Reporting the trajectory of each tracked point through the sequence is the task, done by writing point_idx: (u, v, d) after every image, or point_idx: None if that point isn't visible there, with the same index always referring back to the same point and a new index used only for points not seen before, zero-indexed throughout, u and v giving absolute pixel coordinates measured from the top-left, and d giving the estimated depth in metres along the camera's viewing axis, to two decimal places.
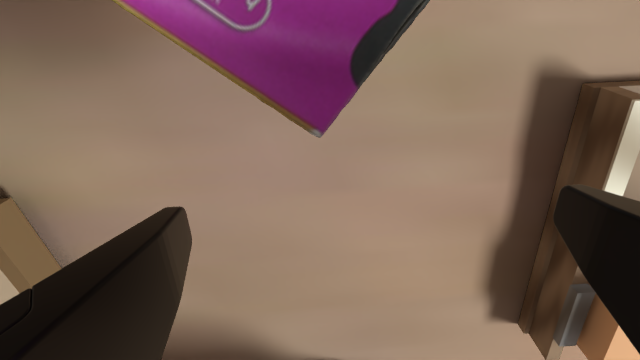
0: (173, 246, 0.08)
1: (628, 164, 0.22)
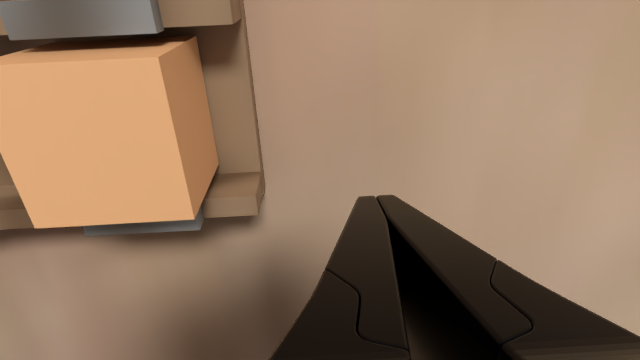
0: None
1: None
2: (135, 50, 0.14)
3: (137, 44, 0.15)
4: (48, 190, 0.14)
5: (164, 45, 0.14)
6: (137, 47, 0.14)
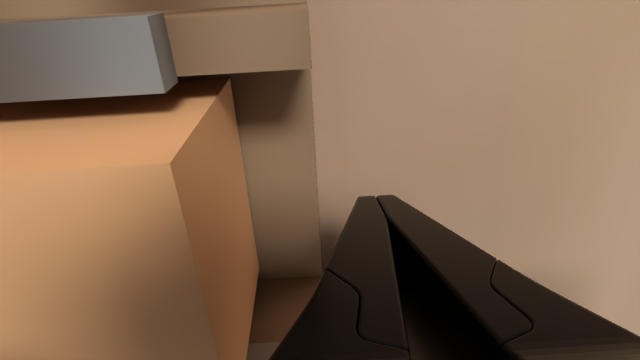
0: None
1: None
2: (121, 128, 0.07)
3: (127, 104, 0.08)
4: None
5: (179, 109, 0.07)
6: (126, 115, 0.07)
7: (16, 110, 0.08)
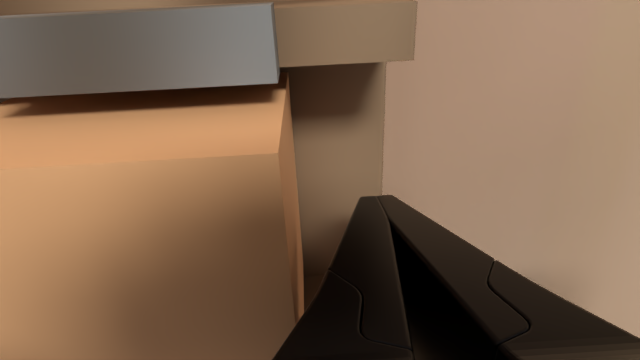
0: None
1: None
2: (206, 119, 0.07)
3: (198, 97, 0.08)
4: None
5: (254, 102, 0.07)
6: (204, 108, 0.07)
7: (85, 102, 0.08)
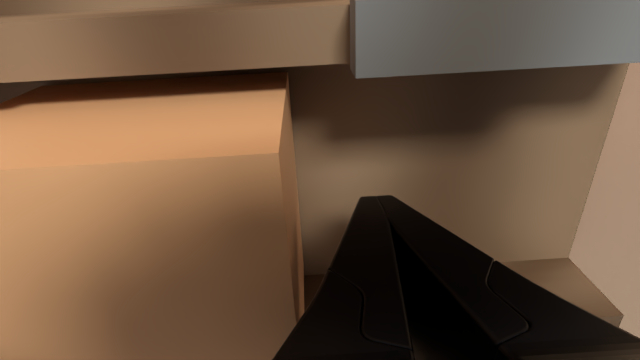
0: None
1: None
2: (206, 119, 0.07)
3: (198, 97, 0.08)
4: None
5: (254, 102, 0.07)
6: (204, 108, 0.07)
7: (85, 102, 0.08)
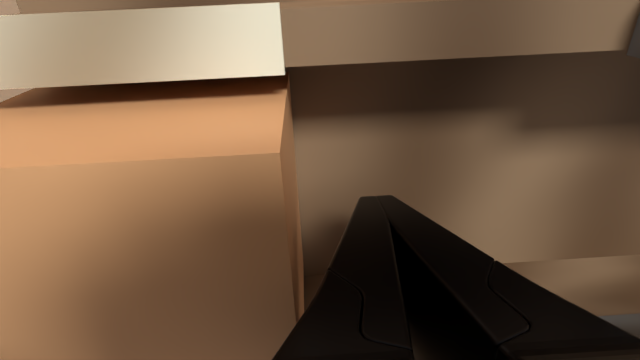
0: None
1: None
2: (207, 119, 0.07)
3: (199, 96, 0.08)
4: None
5: (255, 102, 0.07)
6: (205, 107, 0.07)
7: (86, 102, 0.08)
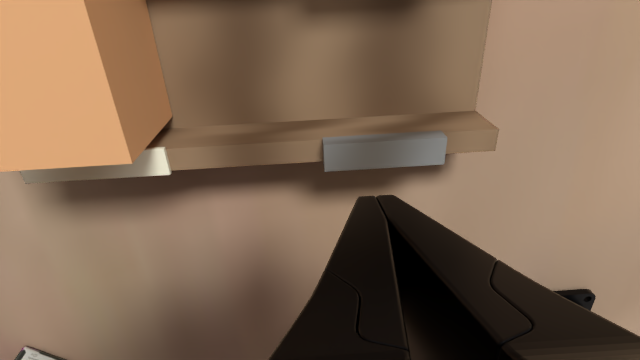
0: None
1: None
2: None
3: None
4: None
5: None
6: None
7: None
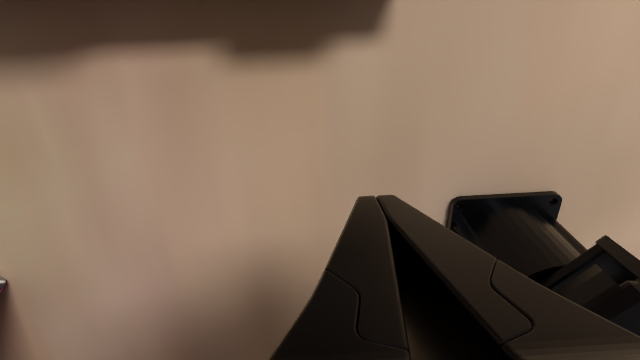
0: None
1: None
2: None
3: None
4: None
5: None
6: None
7: None
